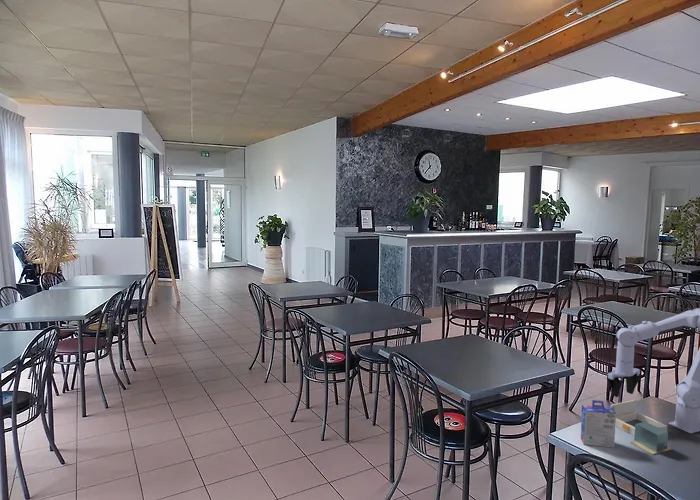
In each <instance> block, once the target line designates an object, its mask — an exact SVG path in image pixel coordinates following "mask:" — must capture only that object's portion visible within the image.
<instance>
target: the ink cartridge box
mask: <svg viewBox="0 0 700 500" xmlns="http://www.w3.org/2000/svg"><path fill="white" fill-rule="evenodd" d="M591 402H592V405H585V404H584V405H583V404H582V405H581V417H580V418H581V420H580V421H581V423H580V440H581V442H582V444H583V445H585V446H586V445H587V446H595V447H596V446H597V447H605V448H615V438H616V437H615V436H616V426H615V423H616V413H615V411H614V410H613V409H612V408H611V407H610V406H605V404H604V401H603V400H598V399H597V400H596V399H592V400H591ZM597 403H598V404H597Z"/></svg>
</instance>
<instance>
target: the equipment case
mask: <svg viewBox="0 0 700 500" xmlns="http://www.w3.org/2000/svg"><path fill="white" fill-rule="evenodd" d="M635 420H637V421H638V422H640V423H642V422H648V423H650V424H652V425H654V426H656V427H658V428H660V429H662V430H665V431H667V432H668V425H666V424H665V423H662V422H660V421H658V420H656V419H653V418H652V417H649V416H647V415H644V414H642V413H641V412H639V411H636V412H633V413H629V414H624V415H620V416H616V423H615V427H617V428H619V429H621V430H623V431H624V432H627V433H629V434H631V435H632V436H635V426H633V425H631V424H628V422H632V421H635Z"/></svg>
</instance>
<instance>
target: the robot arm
mask: <svg viewBox="0 0 700 500" xmlns="http://www.w3.org/2000/svg"><path fill="white" fill-rule="evenodd" d="M683 326H685V327H689V328H694V329H696V327H697V328H698V330H699V331H700V307H698V308H697V307H696V308H693V309H692V310H691V309H689V310H685V311H683V312H681V313H679V314H676V315H673V316H670V317H667V318H665V319H662V320H660V321H656V322H652V321H650V320H649V321H647V320H644V321H641V323H639V324H636V325H633V326H632V325H629V326H628V327H621V328H620V329H618V331H617V332H616V333H615V337H616V339H617V347H616V356H615V357H616V358H615V360H616V361H615V367H613V368H612V369H613V370H612V371H611V372H607V376H606V380H607V381H608V384H609V386H610V390H611V394H612V397H613V396H614V397H615V398H619V397H620V391H621V387H622V385H623V383H624V381H622V380H620V378H624V379H625V383H626V384H625V387H626V388H625V389H626V393H628V394H630V395H634V391H635V389H636V386H637V385H638V383H639V382H640V381H641V380H642V376H640V374H641V369H639V368H636V367H634V363H635V361H634V360H635V345H637V343H638V342H642V341H644V340H648V339H652V338H655V337H657V336H658V335H659V333H660V332H663V331H666V330H671V329H675V328H678V327H683ZM674 391H675V393H676V394H677V395H678V397H677V399H676V402H675V403H676V404H675V417H674V421H670V422H668V425H670V426H673V427H675V428H676V429H679V430H682V431H684V432H686V433H688V434H695V433H699V432H700V347H699V348H698V351H697V352H696V355H695V357H694V360H693V362H692V364H691V366H690V369H689V371H688V373H687V375H685V376H684V377H682V379H681V381H680V382H679V383H678V384H676V386H675V390H674Z"/></svg>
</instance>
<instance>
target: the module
mask: <svg viewBox="0 0 700 500" xmlns="http://www.w3.org/2000/svg"><path fill="white" fill-rule="evenodd" d="M634 425H635V426H634V427H635V436H634V435H633V436H634V439H633V441H636V442H638V443H640V444H642V445H644V446H646V447H648V448H650V449H651V450H653V451H655V452H659V451H662V450H666V449H667V446H668V440H669V439H668V438H669V431H668V430H667V431H665V430H662V429H660V428H658V427H656V426H654V425H652V424H650V423H648V422H638V423H635V424H634Z"/></svg>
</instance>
